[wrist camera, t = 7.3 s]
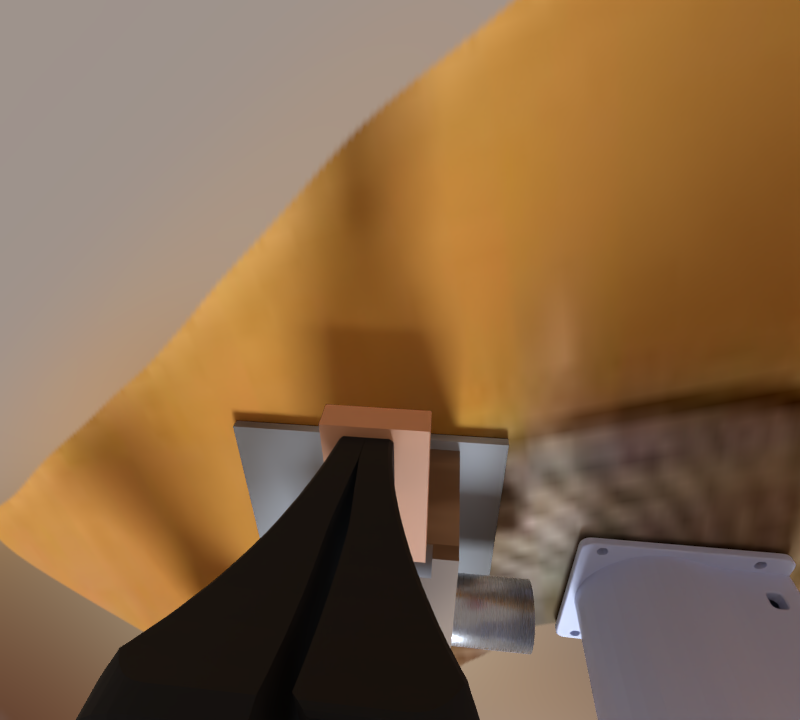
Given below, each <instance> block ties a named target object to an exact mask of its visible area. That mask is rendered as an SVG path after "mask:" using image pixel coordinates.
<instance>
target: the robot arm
mask: <svg viewBox="0 0 800 720" xmlns="http://www.w3.org/2000/svg"><path fill="white" fill-rule="evenodd" d="M795 566H796V564H795V562H794V560H793V559H792V557H791V556H789V555H787V554H780V553H769V552H757V551H745V550H733V549H722V548H710V547H698V546H686V545H675V544H663V543H651V542H639V541H628V540H616V539H604V538H592V537H590V538H585V539H583V540H581V541H580V543H579V546H578V549H577V553H576V556H575V560H574V563H573V566H572V570H571V573H570V577H569V580H568V583H567V587H566V590H565V594H564V597H563V600H562V604H561V607H560V611H559V614H558V618H557V621H556V624H555V628H556V633H557V634H558V635H560V636H563V637H571V638H581V639H582V642H583V647H584V653H585V657H586V662H587V667H588V672H589V677H590V682H591V688H592V693H593V698H594V703H595V708H596V712H597V717H598V720H800V593H799V591H798V589H797V588H796V586H795V584H794V583H793V581H792V580H791V578H790V577H789V576H790V574H791V573H792V571H793V570H794V568H795ZM76 720H480V719H479V716H478V712H477V709H476V706H475V703H474V700H473V697H472V694H471V691H470V688H469V684H468V681H467V679H466V677H465V675H464V673H463V672H462V670H461V668H460V666H459V664H458V662H457V660H456V658H455V656H454V654H453V652H452V650H451V648H450V646H449V644H448V642H447V640H446V638H445V636H444V634H443V632H442V630H441V628H440V626H439V623H438V621H437V619H436V617H435V614H434V612H433V610H432V607H431V605H430V602H429V600H428V598H427V595H426V593H425V591H424V588H423V586H422V583H421V580H420V578H419V575H418V572H417V570H416V567H415V564H414V561H413V558H412V555H411V552H410V549H409V545H408V542H407V539H406V535H405V532H404V528H403V524H402V520H401V516H400V512H399V507H398V502H397V497H396V491H395V475H394V443H393V442H392V441H391V440H390V439H380V438H365V437H350V436H343V437H341V438H340V439H339V440H338V442H337V443H336V445H335V447H334V448H333V450H332V451H331V453H330V454H329V456H328V457H327V459H326V460H325V462H324V463H323V464H322V466H321V467H320V469H319V470H318V471H317V473H316V474H315V475H314V477H313V478H312V479H311V481H310V482H309V483H308V484H307V486H306V487H305V488H304V490H303V491H302V492H301V493H300V495H299V496H298V497H297V498H296V500H295V501H294V502H293V503H292V504H291V505H290V506H289V508H288V509H287V510H286V511H285V512H284V513H283V514H282V516H281V517H280V518H279V519H278V520H277V521H276V522H275V523H274V525H273V526H272V527H271V528H270V529H269V530H268V531H267V532H266V533H265V534H264V535H263V536H262V537H261V538H260V539H259V540H258V541H257V542H256V543H255V544H254V545H253V546H252V547H251V548H250V549H249V550H248V551H247V552H246V553H245V554H243V555H242V556H241V557H240V558H239V559H238V560H237V561H236V562H235V563H233V564H232V565H231V566H230V567H229V568H228V569H227V570H226V571H224V572H223V573H222V574H221V575H220V576H219V577H217V578H216V579H215V580H214V581H213V582H211V583H210V584H209V585H208V586H206V587H205V588H204V589H202V590H201V591H200V592H199V593H197V594H196V595H195V596H193V597H192V598H191V599H189V600H188V601H187V602H186V603H184V604H183V605H182V606H180V607H179V608H178V609H176V610H175V611H174V612H172V613H171V614H169V615H168V616H167V617H165V618H164V619H162V620H161V621H159V622H158V623H156V624H155V625H153V626H152V627H150V628H149V629H147V630H146V631H144V632H143V633H141V634H140V635H138V636H137V637H136V638H134V639H133V640H131V641H130V642H128V643H126V644H125V645H123V646H122V647H120V648H119V650H118V652H117V653H116V654H115V656H114V657H113V659H112V660H111V662H110V663H109V664H108V666H107V667H106V669H105V670H104V672H103V673H102V675H101V676H100V678H99V680H98V681H97V683H96V685H95V687H94V689H93V690H92V692H91V694H90V696H89V697H88V699H87V701H86V703H85V705H84V706H83V708H82V710H81V712H80V713H79V715H78V717H77V719H76Z"/></svg>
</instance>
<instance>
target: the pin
mask: <svg viewBox="0 0 800 720" xmlns="http://www.w3.org/2000/svg"><path fill="white" fill-rule="evenodd" d="M534 635H535V610H534V598H533V591H532V586H531V582H530V580H529V579H520V578H510V577H499V576H488V575H478V574H467V573H458V579H457V589H456V600H455V610H454V621H453V632H452V642H451V646H458V647H468V648H477V649H486V650H496V651H505V652H514V653H523V654H531V653H532V650H533V645H534Z"/></svg>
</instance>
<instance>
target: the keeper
mask: <svg viewBox="0 0 800 720" xmlns="http://www.w3.org/2000/svg"><path fill="white" fill-rule="evenodd" d="M431 413H432V411H424V410H408V409H392V408H376V407H361V406H345V405H329V404H326V406H325V408H324V411H323V414H322V417H321V419H320V422H319V431H320V438H321V446H322V453H323V461H324V462H325V460H326V459H327V457H328V456H329V454H330V453H331V451H332V450H333V448H334V447H335V445H336V443H337V442H338V440H339V439H340V438H341V437H343V436H350V437H365V438H380V439H390V440H391V441H392V442H393V443H394V475H395V491H396V497H397V502H398V507H399V512H400V516H401V520H402V524H403V528H404V532H405V535H406V539H407V542H408V545H409V549H410V552H411V555H412V558H413V561H414V564H415V567H416V570H417V572H418V575H419V577H421V578H431V572H432V555H433V545H430V544H427V524H428V497H429V469H430V441H431Z"/></svg>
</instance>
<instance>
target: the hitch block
mask: <svg viewBox="0 0 800 720" xmlns="http://www.w3.org/2000/svg"><path fill="white" fill-rule="evenodd" d="M233 428H234V432H235V436H236V440H237V445H238V449H239V453H240V457H241V461H242V465H243V470H244V474H245V478H246V482H247V486H248V490H249V495H250V499H251V503H252V507H253V511H254V515H255V520H256V524H257V528H258V532H259V536H260V538H261V537H262V536H263V535H264V534H265V533H266V532H267V531H268V530H269V529H270V528H271V527H272V526H273V525H274V523H275V522H276V521H277V520H278V519H279V518H280V517H281V516H282V514H283V513H284V512H285V511H286V510H287V509H288V508H289V506H290V505H291V504H292V503H293V502H294V501H295V500H296V498H297V497H298V496H299V495H300V493H301V492H302V491H303V490H304V488H305V487H306V486H307V484H308V483H309V482H310V481H311V479H312V478H313V477H314V475H315V474H316V473H317V471H318V470H319V469H320V467H321V466H322V464H323V463H324V461H323V453H322V446H321V438H320V431H319V426H308V425H293V424H278V423H264V422H249V421H236V423H235V424H234V426H233ZM508 448H509V443H508V439H499V438H484V437H470V436H455V435H440V434H431V441H430V469H429V497H428V524H427V544H430V545H433V555H432V572H431V578H421V577H419V578H420V580H421V583H422V586H423V588H424V591H425V593H426V595H427V598H428V600H429V602H430V605H431V607H432V610H433V612H434V614H435V617H436V619H437V621H438V623H439V626H440V628H441V630H442V632H443V634H444V636H445V638H446V640H447V642H448V644H449V646H450V648H451V642H452V632H453V621H454V610H455V600H456V589H457V579H458V573H467V574H478V575H488V576H489V574H490V567H491V561H492V554H493V547H494V541H495V534H496V527H497V521H498V514H499V508H500V501H501V494H502V488H503V481H504V474H505V468H506V461H507V454H508Z"/></svg>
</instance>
